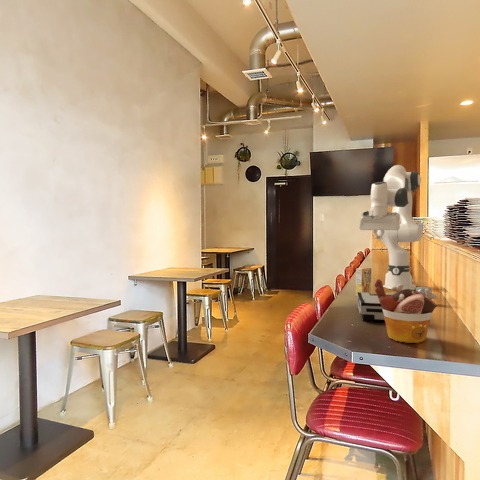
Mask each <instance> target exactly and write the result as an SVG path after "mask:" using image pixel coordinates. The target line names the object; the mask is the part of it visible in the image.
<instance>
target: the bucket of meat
mask: <svg viewBox="0 0 480 480" xmlns="http://www.w3.org/2000/svg"><path fill="white" fill-rule="evenodd" d="M383 285H384V284H383V281H382V280H381V279H376V281H375V283H374V287H375V290H374V291H375V294H377V296H378V299H379V303H380V304H381V306H382V309H383V313H384V318H385V320H384V323H385V328H386V332H387V336H388V338H389V339H390V338H391V339H393V340H392V341H394V340H395V341H394V342H396V341H399V342H398V343H401V342H405V343H404V344H407V343H417V344H420V343H419V342H421V343H423V342H425V340H426V339H427V334H428V330H429V328H430V323H431V319H432V316H433V312H434V310H435V309H436V307H437V304H436V302H434V301H433V299H434V300H436V299H438V298H439V296H438V294H436V292H435V293H434V292H432V294H431V290H429V289H427V288H426V289H425V293H426V295H424V294H423V293H421V292H418V291H416V290H415V292H414V293H412V290H410V289H405V290H402V288H403V286H404V285H403V284H399V285H398V288H397V287H396V286H394V287H392V288H391V289H390V290H391V291H392V292H393V291H394V294H393V295H391V296H388V295H386V294H385V293H386V292H385V287H383ZM431 299H432V300H431ZM391 339H390V340H391Z"/></svg>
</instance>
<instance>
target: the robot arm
mask: <svg viewBox="0 0 480 480" xmlns="http://www.w3.org/2000/svg"><path fill="white" fill-rule="evenodd" d="M421 182H422V177H421V176H420V173H419V172H418V171H407V170H406V168H405V167H404V166H403V165H401V164H396V165H393V166H391V168H389V169H388V170H387V172H386V173H385V175H384V177H383V179H382V181H377V182H373V183H372V184H371V186H370V187H371V188H370V209H368V210H365V211H363V212H361V215H360V219H359V223H358V224H359V225H358V228H359V230H360V231H373V234H374V236H375V239H376V240H379V241H381V242H382V244H384V245H385V248H386V249H387V252H388V267H387V272H386V273H385V278H384V279H385V281H384V284H383V288H384V289H388V290H389V289H390V290H392V289H391V288H392V287H394V286H396V287H397V288H398V285H399V284H403V285H404V286H403V288H402V290H405V289H410V291H414V290H415V291H416V287H417V285H416V284H414V282H413V277H412V274H411V273H410V271H411V267H410V266H411V265H410V254H409V252H408V250H407V249H405V248H403V247H401V246H400V245H399V243H416V242H419V241H420V240H421V239H422V238H423V233H424V231H423V229H422V227H421V226H420V225H419V224H418V223H416V222H415V220H414V219H413V216H412V212H413V194H412V193H415V192H416V190H417V189H419V187H420V186H421V184H422V183H421ZM389 208H392V210H391V212H390V211H389Z"/></svg>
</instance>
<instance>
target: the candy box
mask: <svg viewBox="0 0 480 480" xmlns="http://www.w3.org/2000/svg"><path fill="white" fill-rule="evenodd" d="M357 292H364V293H369V294H372V267H365V266H364V267H358V268H355V298H357Z"/></svg>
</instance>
